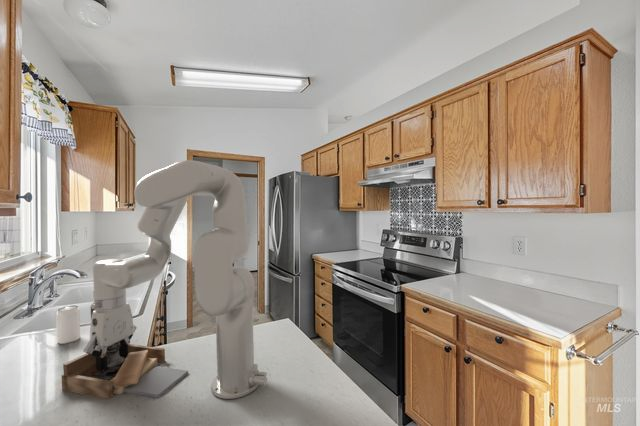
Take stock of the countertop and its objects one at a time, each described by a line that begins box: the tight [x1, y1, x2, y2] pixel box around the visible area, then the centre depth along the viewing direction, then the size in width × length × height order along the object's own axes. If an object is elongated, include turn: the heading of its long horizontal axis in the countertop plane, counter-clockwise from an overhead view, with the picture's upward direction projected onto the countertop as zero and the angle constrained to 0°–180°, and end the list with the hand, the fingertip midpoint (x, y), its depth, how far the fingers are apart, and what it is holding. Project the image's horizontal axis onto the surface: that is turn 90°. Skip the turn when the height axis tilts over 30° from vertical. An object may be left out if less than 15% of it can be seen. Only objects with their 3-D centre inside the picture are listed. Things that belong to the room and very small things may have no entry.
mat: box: [123, 365, 189, 399], centre depth 80 cm, size 11×11×1 cm
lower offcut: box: [109, 358, 158, 395], centre depth 83 cm, size 5×14×2 cm, turn 173°
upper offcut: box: [114, 350, 148, 388], centre depth 83 cm, size 5×14×2 cm, turn 20°
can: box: [55, 305, 81, 345], centre depth 107 cm, size 6×6×12 cm
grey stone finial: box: [101, 342, 125, 380], centre depth 85 cm, size 6×6×12 cm
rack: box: [61, 342, 166, 400], centre depth 85 cm, size 16×18×7 cm
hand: (113, 363), depth 85 cm, fingers closed on grey stone finial, 5 cm apart
